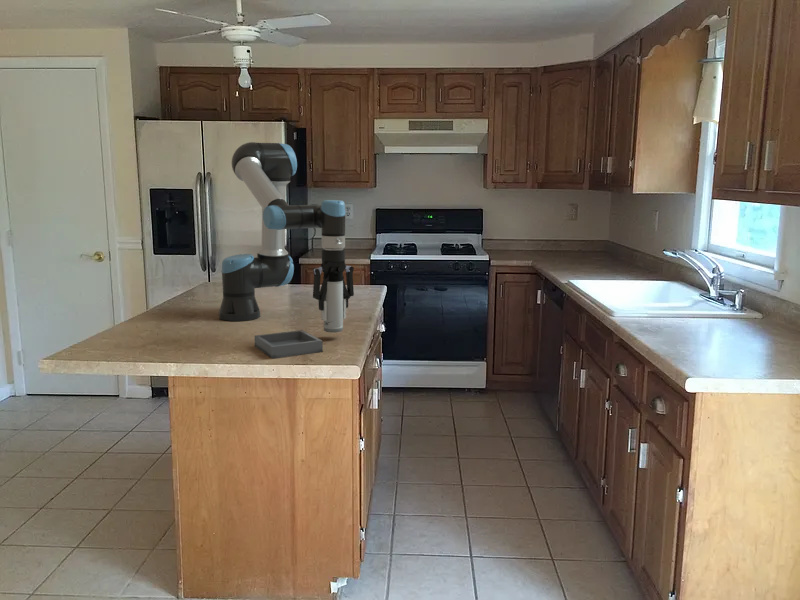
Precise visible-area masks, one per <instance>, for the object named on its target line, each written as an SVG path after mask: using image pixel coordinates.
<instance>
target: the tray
mask: <svg viewBox="0 0 800 600" xmlns="http://www.w3.org/2000/svg"><path fill="white" fill-rule="evenodd" d="M256 347H257V348H256ZM323 347H324V346H323V340H322V339H320V338H319V337H316V336H314V335H313V334H311V333H309V332H307V331H305V330H303V329H299V330H291V331H283V332H274V333H267V334H259V335H254V348H256V349H258V350H259V351H261V352H262V353H263V354H265V355H267V356H268V358H271V359H272V360H273V359H279V358H280V357H281V358H287V356H288V357H294V355H296V356H301V355H302V354H303V355H309V354H316V353H323V352H324V351H323Z"/></svg>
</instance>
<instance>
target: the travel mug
mask: <svg viewBox="0 0 800 600" xmlns="http://www.w3.org/2000/svg"><path fill="white" fill-rule="evenodd" d="M328 275H329V280H328V281H327V283H328V284H327V292H326V296H325V299H324V300H326V301H327V321H324V320H323V330H324V331H325V332H326V333H340V332H343V330H344V319H343V279H342V278H343V277H344V271H343V272H332V273H327V274H325V272H323V276H324V278H325V279H324V280H326V278H327V277H328Z"/></svg>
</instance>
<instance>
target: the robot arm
mask: <svg viewBox="0 0 800 600" xmlns="http://www.w3.org/2000/svg"><path fill="white" fill-rule="evenodd" d="M297 160H298V159H297V156H296V152H295V151H294V149H293V148H292V146H291V145H289V144H287V143H281V142H253V141H251V142H246V143H243V144H241V145H240V146H239V147H238V148H237V149H236V150H235V151H234V152H233V155H232V157H231V167H232V168H231V169H232V171H233V173H234V175H235V176H236V178H237V179H238V180H240V181H242V182H243V183H244V184H245V185H246V187H247V188H248V190H250V191H249V192H251V194H252V195H253V197H254V198H255V200H256V201H257V202H258V203H259V205H260V206H261V247H260V248H259V249H258V250H257V252H256V257H255V256H254V255H253V254H252V253H244V254H241V253H240V254H235V255H231V256H227V257H225V258H224V259H222V262H221V270H220V271H221V279H222V281H221V282H222V283H221V284H222V301H221V302H220V303H221V304H220V307H219V309H218V310H219V311H218V318H219V319H220V320H222V321H229V322H240V321H241V322H244V321H252V320H256V319H259V318H260V317H261V310H260V306H259V304H258V301H257V299H256V295H255V289H261V288H262V289H263V288H272V287H275V288H279V287H282V286H286V285H289V283H290V282H291V281H292V279H293V276H294V273H295V272H294V270H295V265H294V261H293V258H292V257H291V255H289V251H287V250H286V249H285V241H286V240H285V237H286V235H285V234H286V233H285V231H286V230H292V229H293V230H295V229H298V230H299V229H321V248H323V249H321V265H320V266H319V267H314V268H312V272H313V287H312V288H313V289H312V298H313V299H315V300H318V310H319V311H320V315H321V316H320V318H321V320H322V321H323V322H324V321H327V301H326V300H324V299H325V296H326V292H327V284H328V283H327V281H328V280H329V275H328V277H327V278H326V280H324V279H325V278H324V275H323V277H322V279H323V280H322V282H321V274H322V272H323V273H324V272H325V274H327V273H332V272H343V273H344V272H345V277H344V276H343V278H342V279H343V320H345V319H346V318H347V309H348V308H349V299H351V297H354V296H355V291H354V280H353V279H354V278H353V273H354V269H355V268H354V266H351V265H347V264H346V262H345V261H346V250H345V248H346V213H347V212H346V203H345V202H344V201H343V200H342V199H341V200H338V199H324V200H322V201H321V203H320V204H317V203H315V204H314V203H311V204H302V205H301V204H300V205H298V204H295V205H293V204H292V205H291V204H288V202H287V200H286V199H287V198H286V195H287V194H286V193H287V185H288V184H289V183H291V177H293V176H294V175H296V173H297V168H298V161H297ZM345 279H346V282H345ZM321 283H322V284H321Z"/></svg>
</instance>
